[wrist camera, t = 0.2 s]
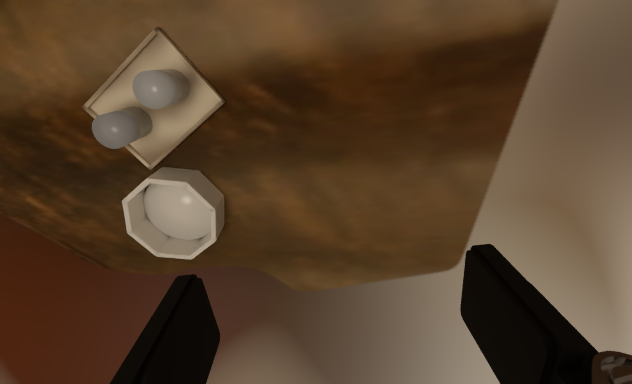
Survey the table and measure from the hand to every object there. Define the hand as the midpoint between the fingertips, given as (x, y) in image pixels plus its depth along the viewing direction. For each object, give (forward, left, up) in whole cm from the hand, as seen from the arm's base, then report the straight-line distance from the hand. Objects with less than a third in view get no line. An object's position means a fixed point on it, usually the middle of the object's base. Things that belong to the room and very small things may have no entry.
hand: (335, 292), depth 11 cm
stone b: (-16, -21, -36) cm, 45 cm away
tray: (-16, -17, -37) cm, 43 cm away
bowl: (-2, -27, -37) cm, 45 cm away
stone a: (-16, -13, -36) cm, 42 cm away
